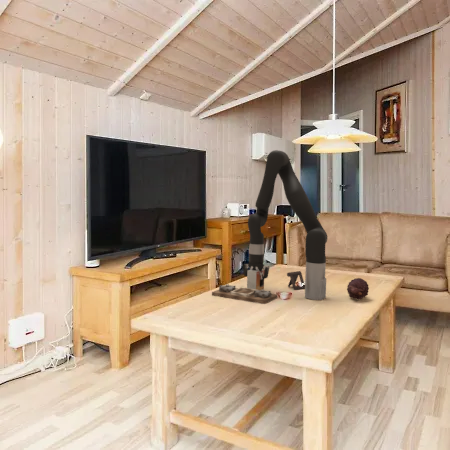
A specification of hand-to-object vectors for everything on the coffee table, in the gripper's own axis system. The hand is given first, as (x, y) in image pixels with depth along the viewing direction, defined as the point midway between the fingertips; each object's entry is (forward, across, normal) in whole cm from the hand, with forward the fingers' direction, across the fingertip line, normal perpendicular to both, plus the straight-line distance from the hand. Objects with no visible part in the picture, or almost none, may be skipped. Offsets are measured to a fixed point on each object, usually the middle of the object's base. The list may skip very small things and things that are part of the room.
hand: (255, 285), depth 216 cm
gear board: (+3, -1, +14) cm, 14 cm away
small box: (+3, 0, 0) cm, 3 cm away
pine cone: (+3, -48, -13) cm, 50 cm away
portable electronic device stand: (+3, -15, -18) cm, 24 cm away
